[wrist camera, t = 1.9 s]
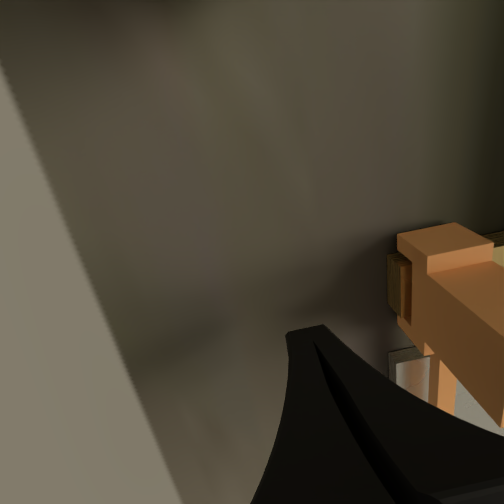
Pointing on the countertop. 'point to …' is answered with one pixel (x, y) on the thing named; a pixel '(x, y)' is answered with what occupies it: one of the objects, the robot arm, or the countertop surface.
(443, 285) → the slider leg
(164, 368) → the countertop surface
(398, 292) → the rail
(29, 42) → the countertop surface
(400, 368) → the bolt plate
